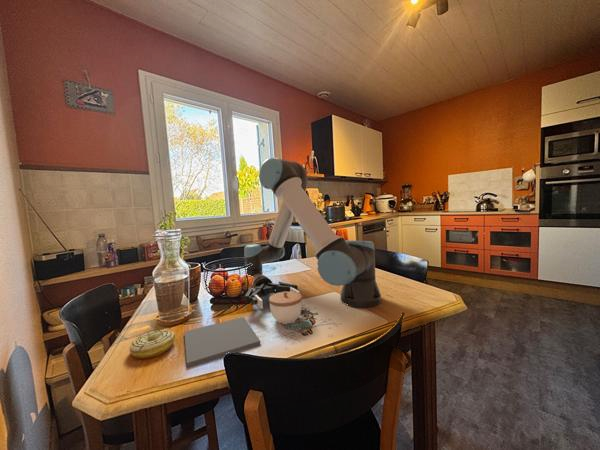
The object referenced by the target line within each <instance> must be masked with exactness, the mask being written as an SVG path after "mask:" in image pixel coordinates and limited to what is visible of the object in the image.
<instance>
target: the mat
mask: <svg viewBox="0 0 600 450" xmlns="http://www.w3.org/2000/svg"><path fill="white" fill-rule="evenodd" d="M183 334H184V344H185V345H184V347H185V355H186V356H185V357H186V367H187V368H190V367H193V366H196V365H198V364H202V363H204V362H208V361H211V360H215V359H217V358H222V357H224V355H225V354H226V353H228V352H234V353H237V352H240V351H244V350H247V349H250V348H253V347H257V346H261V340H260V338H259V337H258V335H257V334H256V332H255V331H254V330H253V328H252V327H251V326H250V323H248V321H247V320H246V318H245V317H244V316H241V317H237V318H232V319H229V320H228V319H227V320H225V321H221V322H216V323H212V324H208V325H205V326H201V327H197V328H193V329H189V330H184V331H183ZM225 356H226V355H225Z"/></svg>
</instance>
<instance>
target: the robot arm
mask: <svg viewBox="0 0 600 450" xmlns="http://www.w3.org/2000/svg"><path fill="white" fill-rule="evenodd" d="M258 179H259V182H260V185H261V187H263V188H265V189H266V190H271V191H272V192H273V194H274V196H275V197H276V198H277V199H280V200H281V203H280V205H279V209H278V212H277V214H276V217H275V220H274V223H273V227H272V230H271V232H270V233H271V234H270V235H269V239H268V242H267V244H266V245H265V246H261V244H257V243H253V244H247V245H245V246H244V248H243V250H244V251H243V252H244V253H243V257H244V266H245V265H246V264H249V263H252V264H253V265H252V266H250V267H248V268H247V269H245V270H247V274H248V275H251V276H253V282H252V285H253V288H251V287H248V291H247V292H246V293H245V295H244V301H245V303H246V304H249V303H250V304H251V306H254V305H257V307H258V308H260V309H264V306H263V305H264V303H263V299H262V297H266V296H268V295H269V294H270V295H271V294H276V293H280V292H285V291H286V292H297V293H299V294H301V292H300V291H299V288H298V284H294V283H293V284H292V283H287V282H286V283H285V282H282V281H279V282H278V283H273V281H272V280H271V279H270V278H269V277H267V276H266V275H264V274H263V272H264V271H263V264H266V263H270V262H274V261H277V260H280V259H282V258H284V256H285V255H286V254H285V253H286V252H285V250H286V248H285V247H284V245H285V243H286V240H287V236H288V234H289V231H290V228H291V226H292V222H293V220H294V219H295V220H296V221H297V223H298V224H299V226H300V228H301V229H302V230H303V232H304V234H305V235H306V237H307V238H308V239H309V241H310V243H311V244H312V245H313V247H314V248H315V258H316V259H317V262H316V263H317V264H316V265H317V268H316V269H317V271H318V275H319V276H320V277H321V279H322V280H323V281H324V282H326V283H327V284H329V285H331V286H337V287H340V286H342V287H341V291H340V301H342V302H341V303H343V302H344V303H346V304H348V305H347V306H349V305H351V306H350V307H353V306H357V307H356V308H370V307H371V308H372V307H375V306H378V305H380V304H381V303H382V294H381V291H380V289H379V286H378V284H377V281H376V254H375V253H376V249H375V243H374V242H373V241H372V240H371V241H370V240H346V239H345V238H344V236H339V235H336V233H335V232H334V230H333V229H332V227H331V226H330V225H329V223H328V221H326V219H325V218H324V216H323V215H322V213H321V212H320V211H319V209H318V208H317V206H316V205H315V204H314V202H313V201H312V200H311V198H310V196H309V195H308V193H306V191H307V186H308V173H307V169H305V167H304V166H303V165H302V164H301V163H299V162H297V161H290V160H286V159H282V158H278V157H269V158H267V159H265V160H264V161H263V162H262V164H261V166H260V168H259V174H258ZM380 302H381V303H380ZM344 303H343V304H344ZM346 304H345V305H346Z"/></svg>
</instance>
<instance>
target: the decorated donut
mask: <svg viewBox="0 0 600 450" xmlns="http://www.w3.org/2000/svg"><path fill="white" fill-rule="evenodd" d="M175 339H176V333H175V332H173V331H172V330H169V329H167V330H166V329H158V330H154V331H150V332H146V333H144V334H141V335H139V336H138V337H137V338H135V339H134V340H133V341H132V342H131V343H130V345H129V352H130V353H131V356H132V357H133V358H135V359H151V358H154V357H156V356H160V355H162V354H164V353H165V352H167V351H168V350H170V349H171V347H172V346H173V345H174V342H175Z"/></svg>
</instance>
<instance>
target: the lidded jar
mask: <svg viewBox="0 0 600 450" xmlns="http://www.w3.org/2000/svg"><path fill="white" fill-rule="evenodd" d="M302 300H303V296H302V294H301V293H300V294H299V293H297V292H286V291H285V292H280V293H279V292H278V293H272V295H270V296H269V298H268V302H269V309H270V313H271V316H272V317H273V318H274V320H276V321H277V323H278V322H279V323H278V324H280V323H282V324H281V325H288V324H287V323H291V322H293V321H295V320H296V321H297V319H298V318H299V317H300V315H301V313H302V309H303V307H302V306H303V301H302ZM296 321H295V322H296ZM293 323H294V322H293ZM291 324H292V323H291Z"/></svg>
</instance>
